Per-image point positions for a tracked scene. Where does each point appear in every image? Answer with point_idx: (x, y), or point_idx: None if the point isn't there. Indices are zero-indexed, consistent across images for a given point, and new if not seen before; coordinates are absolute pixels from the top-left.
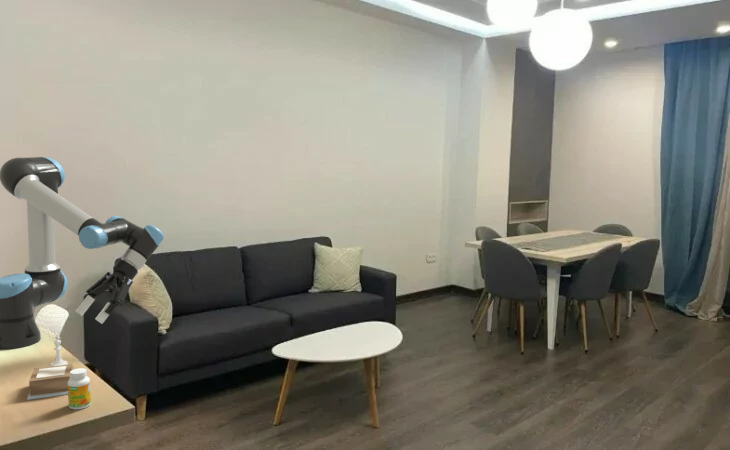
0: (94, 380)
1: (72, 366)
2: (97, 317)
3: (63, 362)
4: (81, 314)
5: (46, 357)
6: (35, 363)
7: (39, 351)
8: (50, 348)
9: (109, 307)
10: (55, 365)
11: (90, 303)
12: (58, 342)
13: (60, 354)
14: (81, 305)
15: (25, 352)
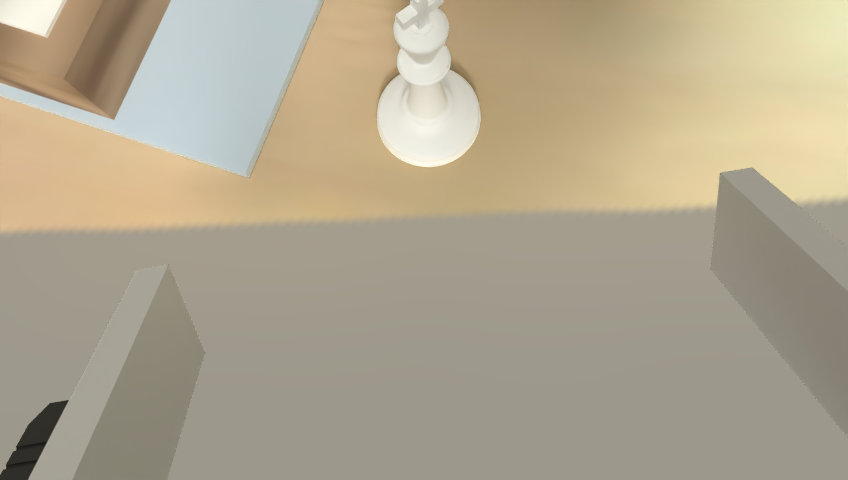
0: (12, 218)
1: (74, 87)
2: (129, 287)
3: (404, 131)
4: (714, 256)
5: (647, 91)
6: (566, 16)
7: (813, 82)
8: (843, 154)
9: (10, 478)
10: (393, 83)
11: (825, 388)
12: (394, 31)
13: (418, 95)
14: (779, 234)
15: (844, 9)
